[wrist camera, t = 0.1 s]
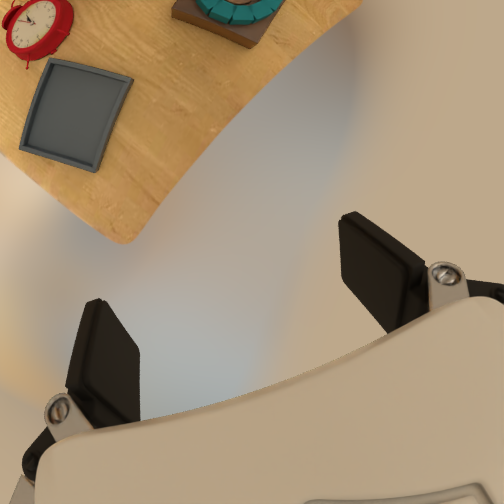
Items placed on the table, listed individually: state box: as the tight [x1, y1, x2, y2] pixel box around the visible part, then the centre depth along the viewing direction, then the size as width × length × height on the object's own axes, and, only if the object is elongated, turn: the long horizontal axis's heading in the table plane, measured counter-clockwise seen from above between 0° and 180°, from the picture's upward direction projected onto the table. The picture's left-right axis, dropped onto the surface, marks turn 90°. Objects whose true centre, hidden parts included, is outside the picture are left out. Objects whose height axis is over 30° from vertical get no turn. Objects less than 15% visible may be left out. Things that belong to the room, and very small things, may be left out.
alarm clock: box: [2, 0, 73, 69], centre depth 17 cm, size 10×6×15 cm
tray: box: [19, 58, 134, 173], centre depth 28 cm, size 13×13×2 cm
